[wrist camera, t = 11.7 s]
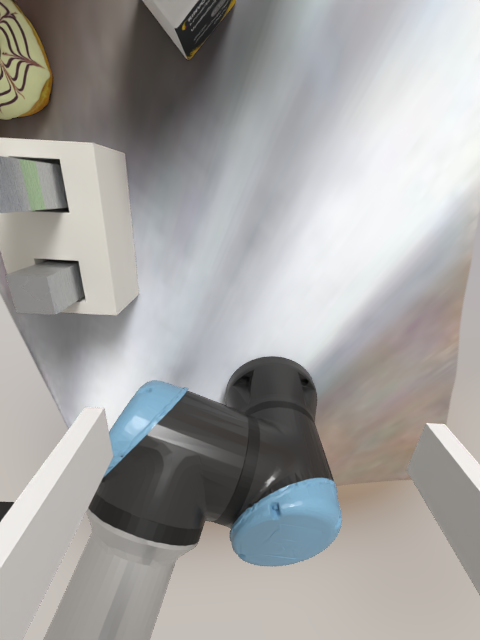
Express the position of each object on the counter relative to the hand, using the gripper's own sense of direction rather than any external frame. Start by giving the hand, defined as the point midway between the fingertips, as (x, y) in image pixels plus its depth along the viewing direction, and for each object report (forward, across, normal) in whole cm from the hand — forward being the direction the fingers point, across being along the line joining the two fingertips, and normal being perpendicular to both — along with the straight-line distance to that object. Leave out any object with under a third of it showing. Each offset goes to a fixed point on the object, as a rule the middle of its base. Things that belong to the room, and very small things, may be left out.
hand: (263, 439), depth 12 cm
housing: (+31, +22, -4) cm, 38 cm away
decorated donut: (+31, +28, -21) cm, 47 cm away
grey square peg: (+31, +22, +1) cm, 38 cm away
